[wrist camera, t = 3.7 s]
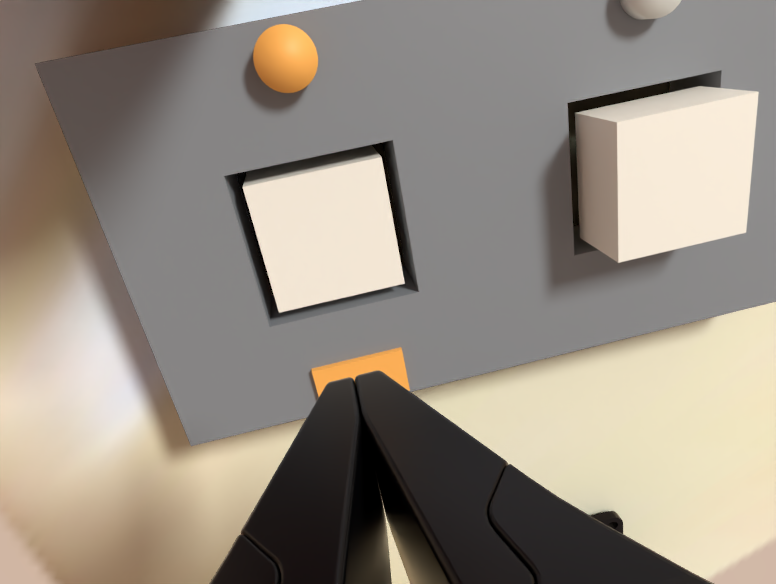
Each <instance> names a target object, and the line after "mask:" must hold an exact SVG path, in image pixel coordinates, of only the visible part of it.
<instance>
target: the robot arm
mask: <svg viewBox="0 0 776 584" xmlns="http://www.w3.org/2000/svg"><path fill="white" fill-rule="evenodd" d="M381 497H382V498H381ZM382 501H383V502H382ZM383 505H384V508H383ZM384 509H385V513H386V517H387V520H388V523H389V526H390V529H391V532H392V535H393V537H394V540H395V543H396V546H397V548H398V551H399V554H400V557H401V559H402V562H403V565H404V568H405V570H406V573H407V576H408V579H409V581H410V584H714V583H712V582H709V581H707V580H706V579H704V578H702V577H700V576H698V575H696V574H694V573H692V572H690V571H688V570H686V569H685V568H683V567H681V566H679V565H677V564H676V563H674V562H672V561H670V560H668V559H667V558H665V557H663V556H661V555H659V554H658V553H656V552H654V551H652V550H650V549H649V548H647V547H645V546H643V545H641V544H640V543H638V542H636V541H634V540H632V539H631V538H629V537H627V536H625V535H623V522H622V519H621V518H620V517H619V515H618V514H617V513H616V512H614V511H609V512H605V513H601V514H597V515H594V516H589V515H588V514H586V513H584V512H583V511H581V510H579V509H578V508H576V507H574V506H572V505H571V504H569V503H567V502H566V501H564V500H562V499H561V498H559V497H557V496H556V495H554V494H553V493H551V492H550V491H548V490H547V489H545V488H544V487H543V486H541V485H540V484H538V483H537V482H535V481H534V480H532V479H531V478H529V477H528V476H526V475H525V474H524V473H522V472H521V471H519V470H518V469H517V468H515V467H514V466H513V465H511V464H509V465H508V463H507V461H505V460H504V459H502V458H501V457H500V456H498V455H497V454H496V453H494V452H493V451H491V450H490V449H489V448H487V447H486V446H484V445H483V444H482V443H480V442H479V441H477V440H476V439H475V438H473V437H472V436H471V435H469V434H468V433H466V432H465V431H464V430H462V429H461V428H459V427H458V426H457V425H455V424H454V423H453V422H451V421H450V420H448V419H447V418H446V417H444V416H443V415H441V414H440V413H439V412H437V411H436V410H435V409H433V408H432V407H430V406H429V405H428V404H426V403H425V402H423V401H422V400H421V399H419V398H418V397H416V396H415V395H414V394H412V393H411V392H410V391H408V390H407V389H405V388H404V387H403V386H401V385H400V384H398V383H397V382H396V381H394V380H393V379H392V378H390V377H389V376H387V375H386V374H385V373H383V372H382V371H379V370H376V371H372V372H368V373H364V374H360V375H358V376H356V377H355V381H354V379H353V378H350V377H348V378H344V379H340V380H336V381H332V382H329V383H328V384H327V385H326V386H325V388H324V389H323V391H322V393H321V395H320V396H319V398H318V400H317V402H316V403H315V405H314V407H313V408H312V410H311V412H310V414H309V415H308V417H307V419H306V420H305V422H304V424H303V426H302V427H301V429H300V431H299V432H298V434H297V436H296V438H295V439H294V441H293V443H292V445H291V446H290V448H289V450H288V451H287V453H286V455H285V457H284V458H283V460H282V462H281V463H280V465H279V467H278V469H277V470H276V472H275V474H274V476H273V477H272V479H271V481H270V482H269V484H268V486H267V488H266V489H265V491H264V493H263V494H262V496H261V498H260V500H259V501H258V503H257V505H256V507H255V508H254V510H253V512H252V513H251V515H250V517H249V519H248V520H247V522H246V524H245V525H244V527H243V529H242V531H241V535H239V536H238V537H237V539H236V540H235V542H234V544H233V546H232V547H231V549H230V551H229V553H228V554H227V556H226V558H225V559H224V561H223V563H222V564H221V566H220V567H219V569H218V571H217V572H216V574H215V575H214V577H213V579H212V580H211V582H210V583H209V584H392V582H391V571H390V559H389V548H388V536H387V527H386V519H385V513H384Z"/></svg>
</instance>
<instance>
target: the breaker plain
mask: <svg viewBox="0 0 776 584" xmlns="http://www.w3.org/2000/svg"><path fill="white" fill-rule="evenodd" d="M758 94H759V92H757V91H746V90H736V89H725V88H714V87H704V86H698V87H693V88H688V89H684V90H679V91H674V92H670V93H665V94H660V95H656V96H651V97H646V98H642V99H637V100H632V101H628V102H623V103H618V104H614V105H609V106H604V107H600V108H595V109H590V110H586V111H581V112H576V113H575V127H576V152H577V177H578V202H579V227H580V238H581V239H583V240H584V241H586V242H587V243H589V244H590V245H592V246H593V247H595V248H597V249H598V250H600V251H601V252H603V253H604V254H606V255H607V256H609V257H610V258H612V259H613V260H615V261H616V262H618V263H620V262H624V261H628V260H632V259H637V258H641V257H645V256H649V255H654V254H658V253H662V252H666V251H670V250H675V249H679V248H683V247H687V246H692V245H696V244H700V243H704V242H709V241H713V240H717V239H721V238H725V237H730V236H734V235H738V234H742V233H746V229H747V218H748V207H749V195H750V184H751V173H752V162H753V151H754V139H755V128H756V117H757V106H758Z"/></svg>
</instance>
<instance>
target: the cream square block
mask: <svg viewBox="0 0 776 584" xmlns="http://www.w3.org/2000/svg"><path fill="white" fill-rule="evenodd" d="M243 191H244V194H245V198H246V201H247V204H248V208H249V211H250V215H251V218H252V222H253V225H254V229H255V232H256V235H257V239H258V242H259V246H260V249H261V253H262V256H263V259H264V263H265V266H266V270H267V273H268V277H269V280H270V283H271V287H272V290H273V294H274V297H275V301H276V304H277V308H278V311H279V313H280V312H284V311H289V310H293V309H297V308H302V307H306V306H310V305H315V304H319V303H323V302H327V301H332V300H336V299H340V298H345V297H349V296H353V295H358V294H362V293H366V292H370V291H375V290H379V289H383V288H388V287H392V286H396V285H401V284H405V282H404V277H403V271H402V266H401V260H400V255H399V249H398V244H397V238H396V233H395V227H394V222H393V217H392V211H391V206H390V200H389V195H388V189H387V184H386V178H385V173H384V167H383V162H382V157H381V156H380V155H379V153H378V152H377V151H376V150H375V149H374V148H373V146H372V145H368V146H363V147H358V148H354V149H349V150H344V151H339V152H335V153H330V154H325V155H321V156H316V157H311V158H307V159H302V160H297V161H292V162H288V163H283V164H278V165H274V166H269V167H264V168H260V169H255V170H250V171H247V174H246V177H245V181H244V184H243Z"/></svg>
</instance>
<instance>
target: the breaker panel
mask: <svg viewBox="0 0 776 584" xmlns="http://www.w3.org/2000/svg"><path fill="white" fill-rule="evenodd" d="M35 65H36V68H37V70H38V73H39V75H40V78H41V80H42V83H43V85H44V87H45V90H46V92H47V95H48V97H49V100H50V102H51V105H52V107H53V110H54V112H55V114H56V117H57V119H58V122H59V124H60V127H61V129H62V132H63V134H64V136H65V139H66V141H67V144H68V146H69V149H70V151H71V154H72V156H73V158H74V161H75V163H76V166H77V168H78V171H79V173H80V176H81V178H82V180H83V183H84V185H85V188H86V190H87V193H88V195H89V198H90V200H91V202H92V205H93V207H94V210H95V212H96V215H97V217H98V220H99V222H100V225H101V227H102V229H103V232H104V234H105V237H106V239H107V242H108V244H109V247H110V249H111V251H112V254H113V256H114V259H115V261H116V264H117V266H118V269H119V271H120V273H121V276H122V278H123V281H124V283H125V286H126V288H127V291H128V293H129V295H130V298H131V300H132V303H133V305H134V308H135V310H136V313H137V315H138V317H139V320H140V322H141V325H142V327H143V330H144V332H145V335H146V337H147V339H148V342H149V344H150V347H151V349H152V352H153V354H154V357H155V359H156V362H157V364H158V366H159V369H160V371H161V374H162V376H163V379H164V381H165V384H166V386H167V388H168V391H169V393H170V396H171V398H172V401H173V403H174V406H175V408H176V410H177V413H178V415H179V418H180V420H181V423H182V425H183V428H184V430H185V432H186V435H187V437H188V440H189V442H190V445H191V446H194V445H198V444H202V443H206V442H210V441H214V440H218V439H222V438H226V437H230V436H234V435H238V434H242V433H246V432H250V431H254V430H258V429H262V428H267V427H271V426H275V425H279V424H283V423H287V422H291V421H295V420H299V419H303V418H307V417H308V415H309V414H310V412H311V410H312V408H313V407H314V405H315V403H316V402H317V400H318V398H319V396H320V395H321V393H322V391H323V389H324V388H325V386H326V385H327V384H328V383H329V382H332V381H336V380H340V379H344V378H348V377H350V378H353V379H354V381H355V377H356V376H358V375H360V374H364V373H368V372H372V371H376V370H379V371H382V372H383V373H385V374H386V375H387V376H389V377H390V378H392V379H393V380H394V381H396V382H397V383H398V384H400V385H401V386H403V387H404V388H405V389H407V390H408V391H410V392H412V391H416V390H420V389H424V388H428V387H432V386H436V385H440V384H444V383H448V382H453V381H457V380H461V379H465V378H469V377H473V376H477V375H481V374H485V373H489V372H493V371H497V370H501V369H505V368H509V367H513V366H517V365H521V364H525V363H529V362H533V361H537V360H541V359H546V358H550V357H554V356H558V355H562V354H566V353H570V352H574V351H578V350H582V349H586V348H590V347H594V346H598V345H602V344H606V343H610V342H614V341H618V340H622V339H626V338H630V337H634V336H638V335H643V334H647V333H651V332H655V331H659V330H663V329H667V328H671V327H675V326H679V325H683V324H687V323H691V322H695V321H699V320H703V319H707V318H711V317H715V316H719V315H723V314H727V313H731V312H736V311H740V310H744V309H748V308H752V307H756V306H760V305H764V304H768V303H772V302H776V0H361V1H356V2H351V3H345V4H340V5H335V6H330V7H325V8H320V9H314V10H309V11H304V12H299V13H294V14H289V15H283V16H278V17H273V18H268V19H263V20H258V21H252V22H247V23H242V24H237V25H232V26H227V27H221V28H216V29H211V30H206V31H201V32H195V33H190V34H185V35H180V36H175V37H170V38H164V39H159V40H154V41H149V42H144V43H139V44H133V45H128V46H123V47H118V48H113V49H108V50H102V51H97V52H92V53H87V54H82V55H76V56H71V57H66V58H61V59H56V60H51V61H45V62H40V63H35ZM668 81H670V92H674V91H679V90H684V89H688V88H693V87H698V86H704V87H714V88H725V89H736V90H746V91H757V92H759V94H758V106H757V117H756V128H755V139H754V151H753V162H752V173H751V184H750V195H749V207H748V218H747V229H746V233H742V234H738V235H734V236H730V237H725V238H721V239H717V240H713V241H709V242H704V243H700V244H696V245H692V246H687V247H683V248H679V249H675V250H670V251H666V252H662V253H658V254H654V255H649V256H645V257H641V258H637V259H632V260H628V261H624V262H620V263H618V262H616V261H615V260H613V259H612V258H610V257H609V256H607V255H606V254H604V253H603V252H601V251H600V250H598V249H597V248H595V247H593V246H592V245H590V244H589V243H587V242H586V241H584V240H583V239H581V238H580V227H579V225H575V226H573V213H572V190H571V168H570V146H569V124H568V103H570V102H574V101H579V100H584V99H588V98H593V97H598V96H602V95H607V94H612V93H617V92H621V91H626V90H631V89H635V88H640V87H645V86H649V85H654V84H659V83H663V82H668ZM670 92H669V93H670ZM377 143H382V144H383V149H384V155H385V160H386V166H387V171H388V177H389V182H390V188H391V193H392V199H393V205H394V210H395V216H396V221H397V227H398V232H399V238H400V243H401V249H402V254H403V260H404V265H401V266H402V271H403V277H404V282H405V284H401V285H396V286H392V287H388V288H383V289H379V290H375V291H370V292H366V293H362V294H358V295H353V296H349V297H345V298H340V299H336V300H332V301H327V302H323V303H319V304H315V305H310V306H306V307H302V308H297V309H293V310H289V311H284V312H280V313H279V311H278V308H277V304H276V301H275V297H274V295H271V292H270V288H269V285H268V281H267V278H266V274H265V271H264V268H263V264H262V261H261V257H260V254H259V251H258V247H257V244H256V240H255V237H254V234H253V230H252V227H251V223H250V220H249V216H248V213H247V210H246V206H245V203H244V199H243V196H242V193H241V189H240V186H239V182H238V179H237V175H236V173H241V172H245V171H250V170H255V169H260V168H264V167H269V166H274V165H278V164H283V163H288V162H292V161H297V160H302V159H307V158H311V157H316V156H321V155H325V154H330V153H335V152H339V151H344V150H349V149H354V148H358V147H363V146H368V145H372V144H377Z"/></svg>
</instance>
